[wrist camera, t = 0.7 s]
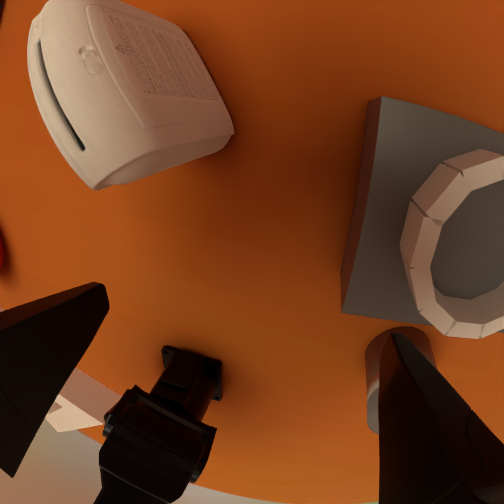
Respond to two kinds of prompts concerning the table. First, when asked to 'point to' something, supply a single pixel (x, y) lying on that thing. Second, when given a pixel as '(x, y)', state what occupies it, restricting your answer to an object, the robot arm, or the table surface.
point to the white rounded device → (122, 91)
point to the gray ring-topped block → (427, 222)
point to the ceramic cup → (1, 253)
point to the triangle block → (80, 403)
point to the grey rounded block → (374, 364)
